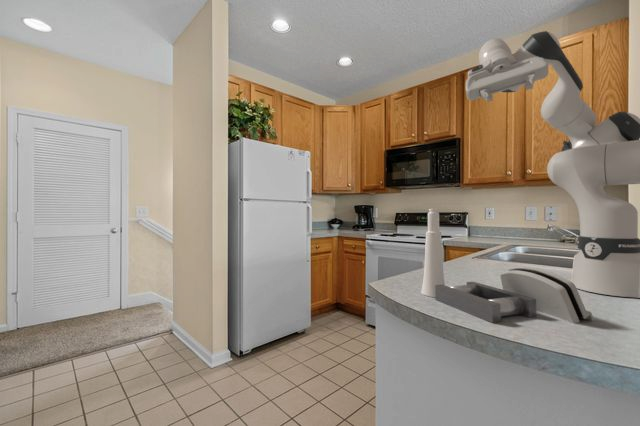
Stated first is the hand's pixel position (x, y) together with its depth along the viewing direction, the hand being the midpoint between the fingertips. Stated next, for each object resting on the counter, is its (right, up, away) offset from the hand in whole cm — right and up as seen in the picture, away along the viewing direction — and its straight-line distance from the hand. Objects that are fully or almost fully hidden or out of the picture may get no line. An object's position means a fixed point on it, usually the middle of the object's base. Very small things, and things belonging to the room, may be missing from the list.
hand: (509, 93), depth 82 cm
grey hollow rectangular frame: (-16, -54, -16) cm, 58 cm away
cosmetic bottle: (-23, -54, -5) cm, 59 cm away
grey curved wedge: (-4, -54, -17) cm, 57 cm away
